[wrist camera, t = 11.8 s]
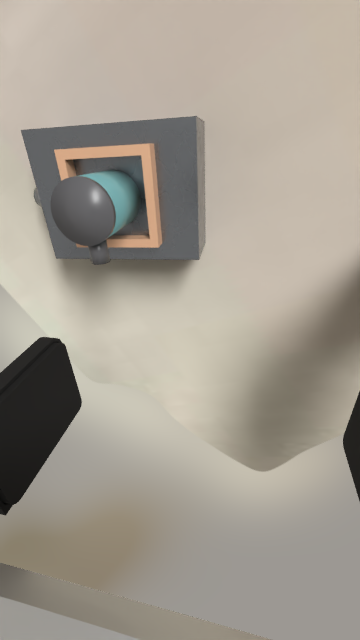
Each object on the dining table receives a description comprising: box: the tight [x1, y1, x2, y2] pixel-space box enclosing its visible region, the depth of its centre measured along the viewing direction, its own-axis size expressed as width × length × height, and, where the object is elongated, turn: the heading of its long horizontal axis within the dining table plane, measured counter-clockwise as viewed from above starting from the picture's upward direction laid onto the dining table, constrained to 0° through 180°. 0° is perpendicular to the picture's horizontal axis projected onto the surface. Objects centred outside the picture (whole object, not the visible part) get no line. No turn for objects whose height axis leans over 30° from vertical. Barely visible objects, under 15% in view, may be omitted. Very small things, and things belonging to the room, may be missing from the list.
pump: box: [50, 170, 141, 265], centre depth 25 cm, size 5×7×7 cm
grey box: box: [21, 116, 205, 260], centre depth 30 cm, size 18×12×8 cm, turn 93°
